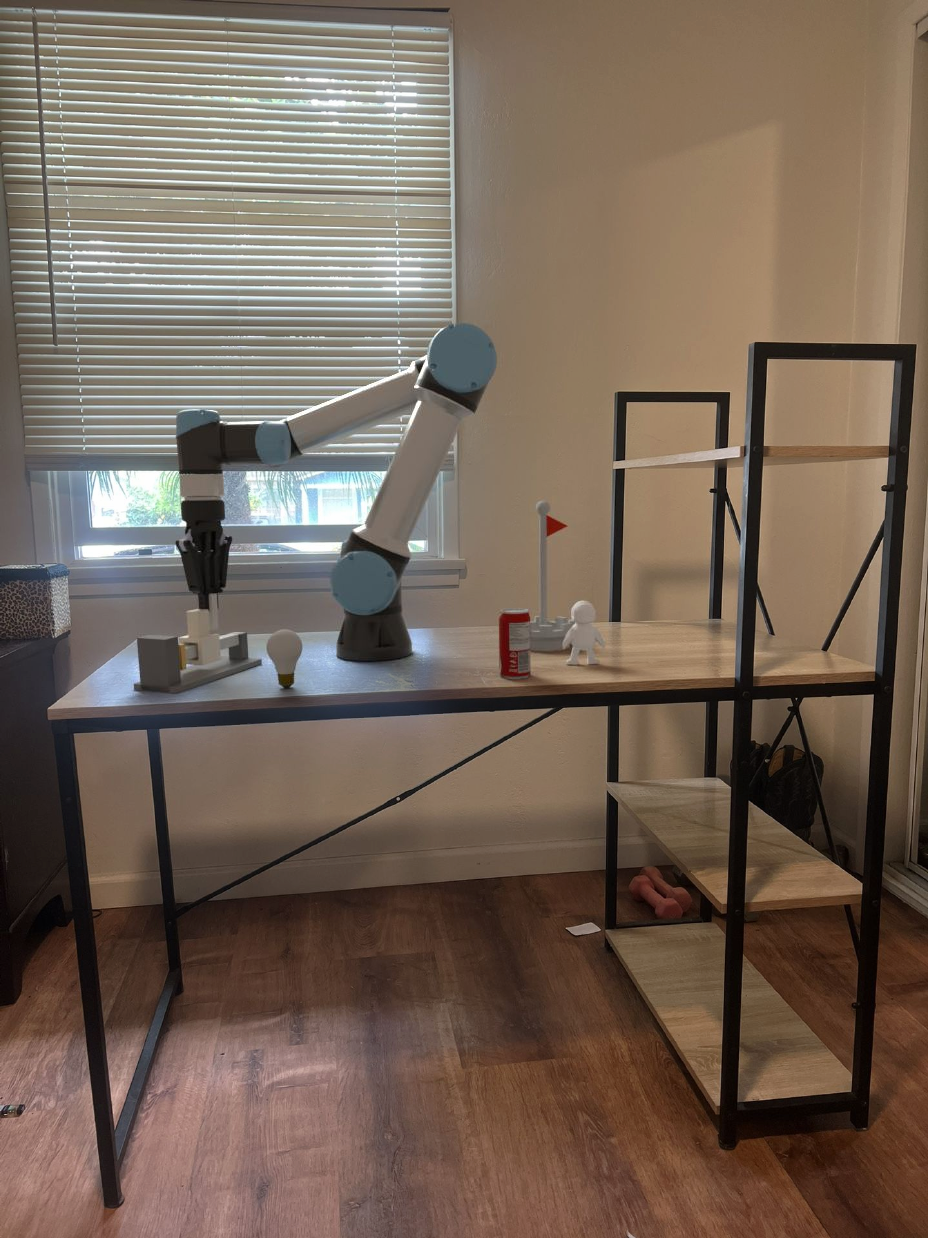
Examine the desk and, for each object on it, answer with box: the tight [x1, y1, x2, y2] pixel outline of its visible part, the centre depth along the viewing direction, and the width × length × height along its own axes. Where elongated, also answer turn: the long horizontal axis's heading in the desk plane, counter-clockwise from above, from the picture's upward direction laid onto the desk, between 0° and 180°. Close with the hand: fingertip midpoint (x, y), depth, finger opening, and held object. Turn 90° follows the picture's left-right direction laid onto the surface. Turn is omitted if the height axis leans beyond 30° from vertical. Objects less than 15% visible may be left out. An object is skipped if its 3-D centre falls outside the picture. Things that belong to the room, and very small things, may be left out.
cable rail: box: [133, 631, 263, 694], centre depth 151 cm, size 9×24×9 cm, turn 158°
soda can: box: [498, 607, 531, 680], centre depth 146 cm, size 6×6×12 cm
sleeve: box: [178, 608, 222, 666], centre depth 150 cm, size 5×5×9 cm
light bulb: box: [266, 628, 303, 689], centre depth 141 cm, size 6×6×10 cm
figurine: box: [562, 600, 606, 666], centre depth 155 cm, size 8×5×12 cm, turn 93°
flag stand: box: [530, 500, 576, 652], centre depth 172 cm, size 13×13×30 cm
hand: (210, 628), depth 153 cm, fingers closed
